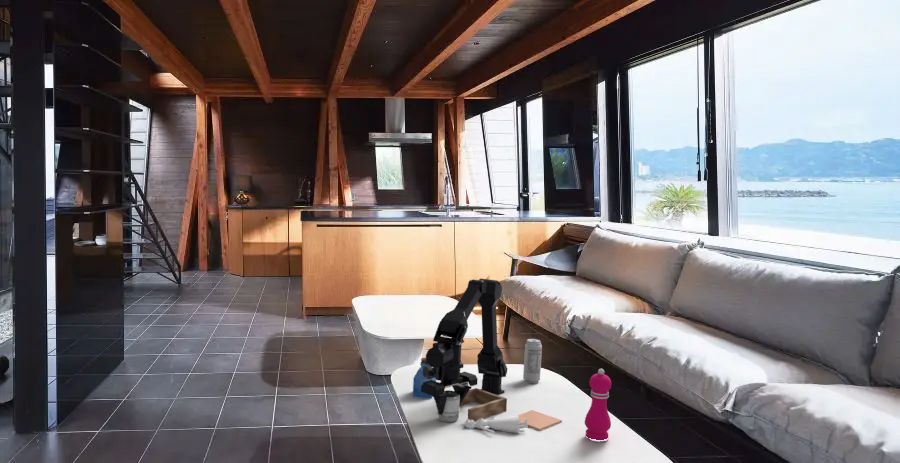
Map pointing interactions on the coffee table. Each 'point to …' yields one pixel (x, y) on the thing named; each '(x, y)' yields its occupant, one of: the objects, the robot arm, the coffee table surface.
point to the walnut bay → (484, 404)
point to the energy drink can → (532, 361)
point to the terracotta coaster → (538, 420)
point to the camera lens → (451, 407)
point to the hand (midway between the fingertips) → (448, 411)
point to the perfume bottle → (421, 381)
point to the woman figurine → (498, 424)
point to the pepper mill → (598, 407)
